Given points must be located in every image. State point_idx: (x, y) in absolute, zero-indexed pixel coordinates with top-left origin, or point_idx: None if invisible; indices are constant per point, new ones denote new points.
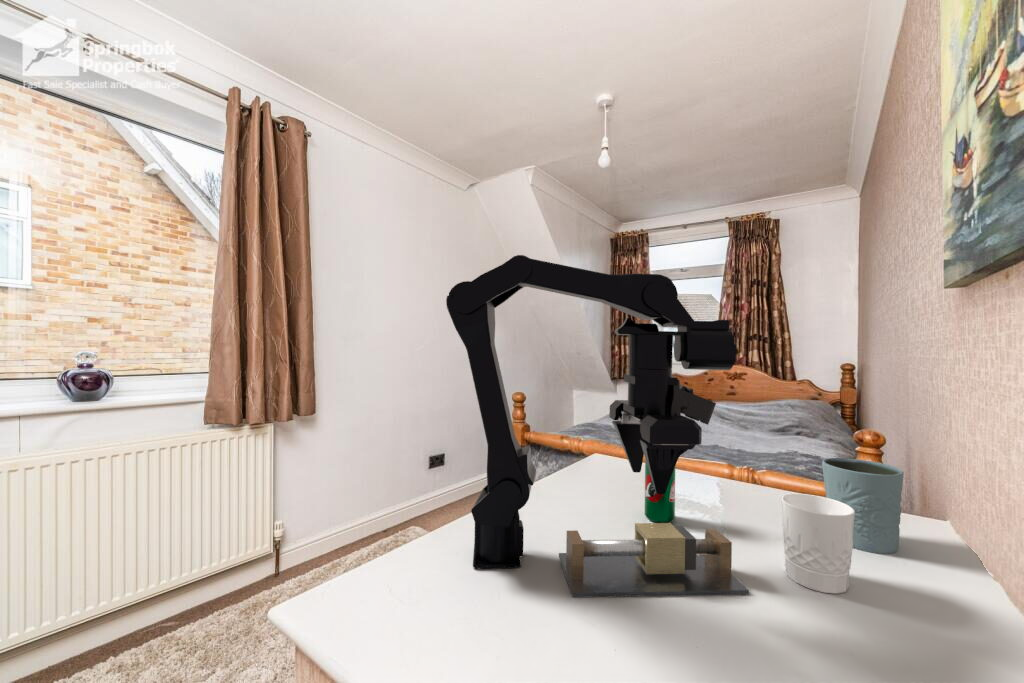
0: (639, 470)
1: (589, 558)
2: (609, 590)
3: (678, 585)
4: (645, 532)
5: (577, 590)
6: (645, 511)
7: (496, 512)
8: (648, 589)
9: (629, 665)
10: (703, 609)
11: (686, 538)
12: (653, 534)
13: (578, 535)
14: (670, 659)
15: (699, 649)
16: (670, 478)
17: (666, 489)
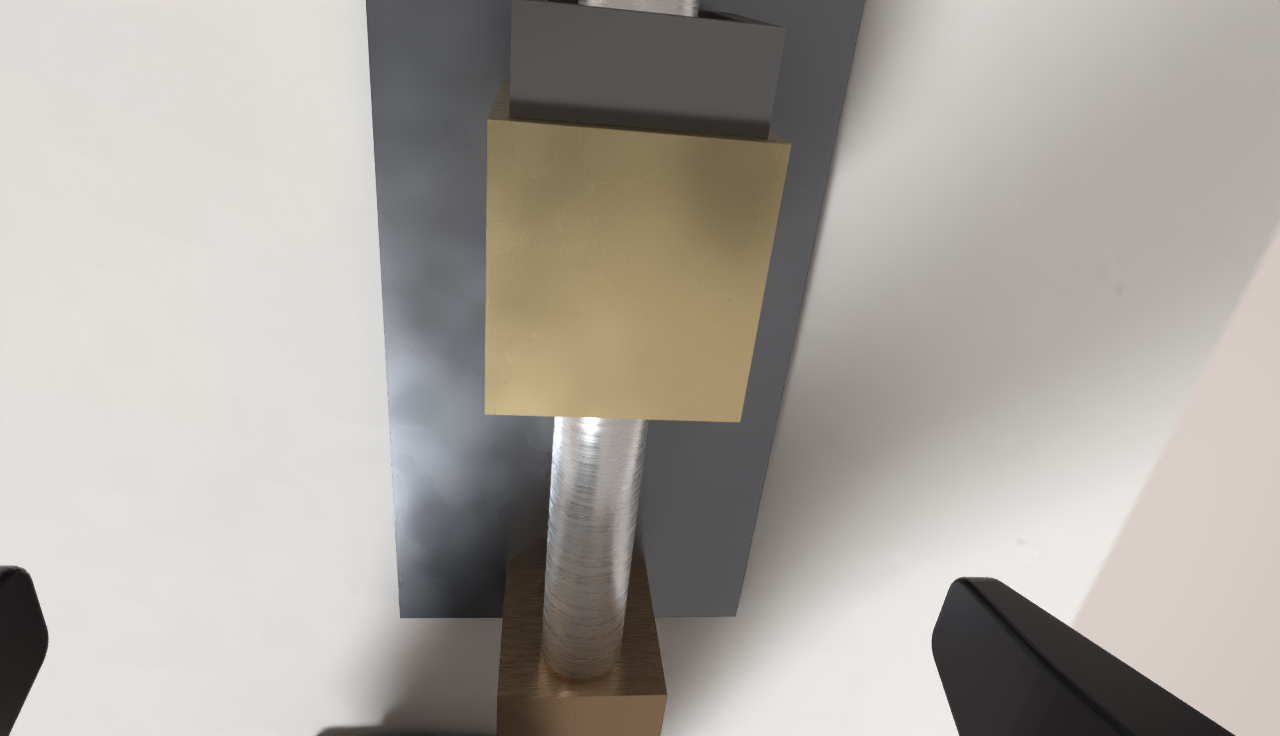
0: (13, 595)
1: (457, 506)
2: (747, 493)
3: None
4: (653, 400)
5: (723, 599)
6: None
7: None
8: (774, 333)
9: (1091, 523)
10: (946, 125)
11: (760, 111)
12: (689, 357)
13: (560, 701)
14: (1125, 405)
15: (1133, 288)
16: (1216, 725)
17: (1046, 614)
